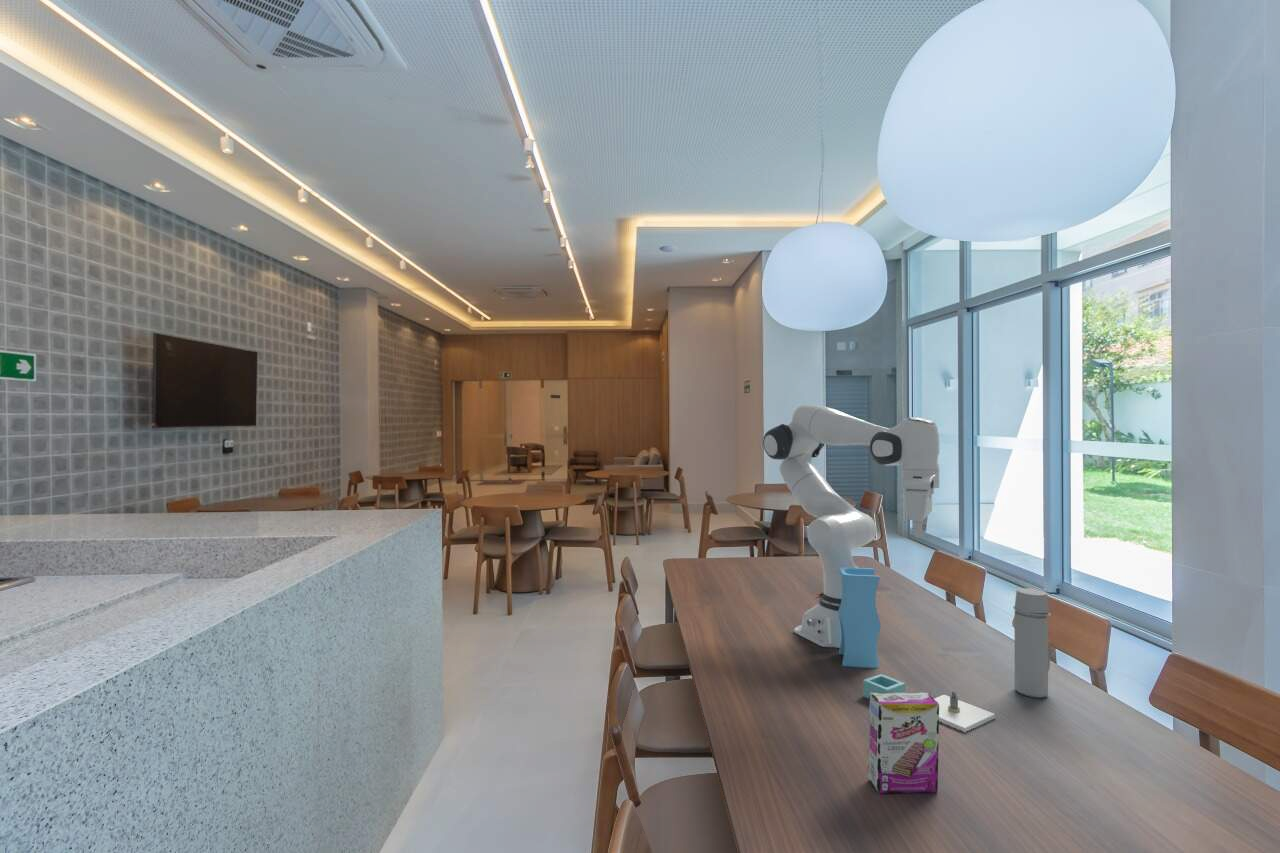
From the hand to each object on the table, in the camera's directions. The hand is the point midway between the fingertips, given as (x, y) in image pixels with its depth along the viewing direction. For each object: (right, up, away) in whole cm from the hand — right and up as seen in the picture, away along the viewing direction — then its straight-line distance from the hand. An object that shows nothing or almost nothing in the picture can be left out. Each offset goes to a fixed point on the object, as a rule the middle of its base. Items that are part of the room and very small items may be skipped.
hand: (920, 534), depth 159 cm
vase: (-11, -38, +15) cm, 42 cm away
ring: (-13, -38, -9) cm, 41 cm away
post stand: (-1, -38, -18) cm, 42 cm away
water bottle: (+25, -38, -6) cm, 46 cm away
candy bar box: (-24, -38, -46) cm, 65 cm away
